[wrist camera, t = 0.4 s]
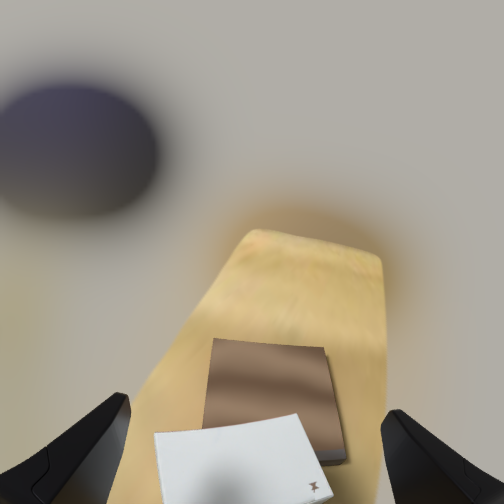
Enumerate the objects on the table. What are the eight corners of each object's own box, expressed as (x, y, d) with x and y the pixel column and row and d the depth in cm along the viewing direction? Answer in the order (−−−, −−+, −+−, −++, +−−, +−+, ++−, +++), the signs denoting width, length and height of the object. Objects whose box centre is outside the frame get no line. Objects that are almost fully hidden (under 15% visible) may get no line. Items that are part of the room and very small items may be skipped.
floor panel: (340, 464, 20) (346, 458, 20) (198, 462, 20) (198, 456, 19) (319, 356, 32) (323, 347, 32) (212, 347, 32) (213, 337, 31)
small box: (266, 469, 20) (300, 409, 15) (287, 524, 15) (339, 494, 10) (168, 481, 18) (151, 428, 12) (181, 542, 13) (167, 530, 8)
